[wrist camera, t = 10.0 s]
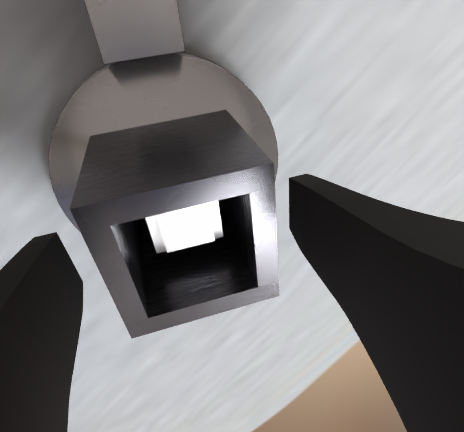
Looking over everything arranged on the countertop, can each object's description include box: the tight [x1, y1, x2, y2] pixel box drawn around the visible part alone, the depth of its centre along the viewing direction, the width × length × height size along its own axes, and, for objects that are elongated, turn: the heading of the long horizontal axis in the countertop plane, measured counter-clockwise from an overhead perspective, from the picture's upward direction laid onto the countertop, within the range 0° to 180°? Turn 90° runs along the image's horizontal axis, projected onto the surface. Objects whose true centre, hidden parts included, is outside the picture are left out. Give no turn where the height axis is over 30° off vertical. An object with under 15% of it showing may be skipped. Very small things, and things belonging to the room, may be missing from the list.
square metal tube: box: [70, 110, 279, 338], centre depth 11 cm, size 5×5×5 cm
